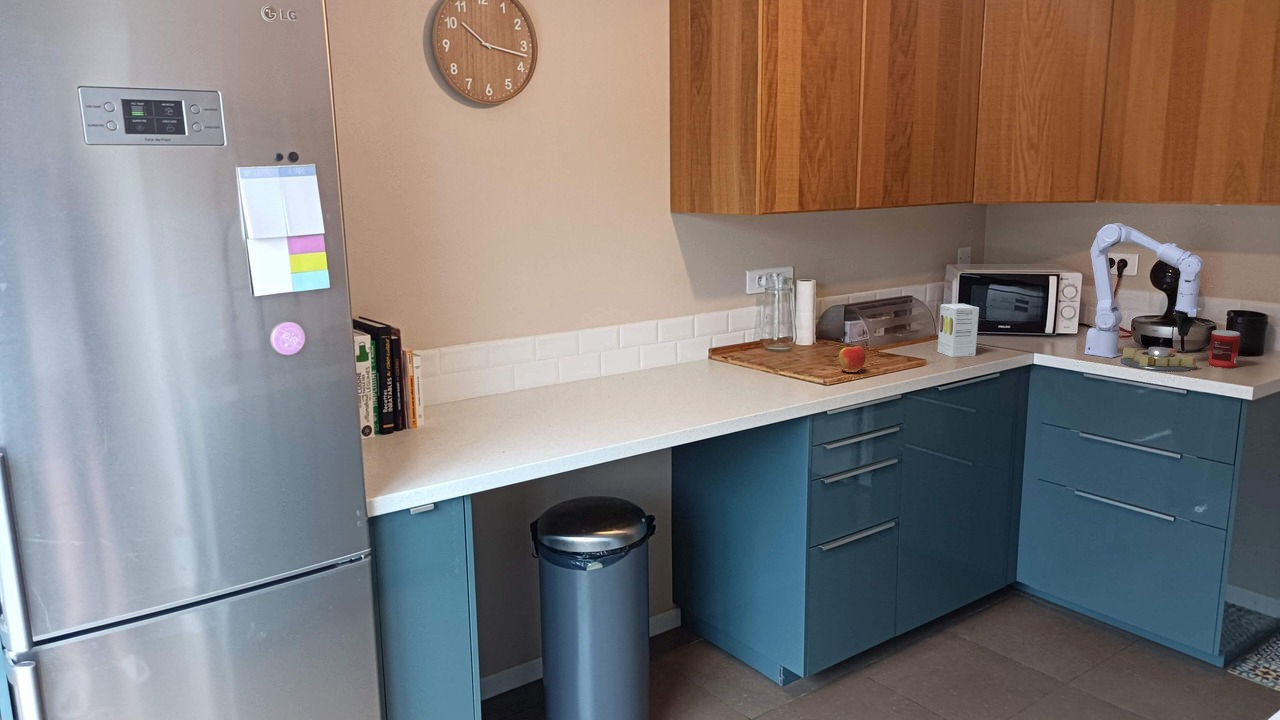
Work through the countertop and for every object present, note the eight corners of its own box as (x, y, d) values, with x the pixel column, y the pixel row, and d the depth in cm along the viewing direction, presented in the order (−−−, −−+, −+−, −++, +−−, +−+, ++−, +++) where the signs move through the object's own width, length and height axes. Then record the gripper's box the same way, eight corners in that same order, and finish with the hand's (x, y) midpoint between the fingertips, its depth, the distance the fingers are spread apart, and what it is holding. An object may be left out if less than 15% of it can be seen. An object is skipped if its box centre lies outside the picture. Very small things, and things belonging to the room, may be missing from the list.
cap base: (1109, 364, 294) (1111, 348, 293) (1139, 355, 308) (1141, 339, 307) (1180, 374, 278) (1182, 357, 277) (1208, 364, 292) (1210, 348, 291)
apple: (845, 376, 279) (846, 344, 277) (833, 370, 286) (835, 339, 284) (869, 374, 280) (871, 342, 278) (857, 369, 288) (858, 338, 286)
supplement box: (936, 352, 315) (939, 303, 311) (959, 350, 317) (963, 302, 314) (952, 357, 306) (955, 307, 302) (976, 356, 308) (979, 306, 305)
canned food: (1227, 363, 294) (1232, 330, 292) (1241, 368, 286) (1245, 334, 284) (1202, 363, 295) (1206, 329, 292) (1215, 368, 287) (1219, 334, 285)
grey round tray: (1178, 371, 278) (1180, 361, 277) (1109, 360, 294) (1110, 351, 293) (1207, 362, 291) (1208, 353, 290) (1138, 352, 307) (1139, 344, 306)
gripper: (1209, 297, 281) (1203, 340, 284) (1195, 291, 295) (1189, 332, 298) (1183, 296, 283) (1178, 339, 286) (1170, 290, 297) (1165, 331, 300)
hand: (1182, 335), depth 292 cm, fingers closed
